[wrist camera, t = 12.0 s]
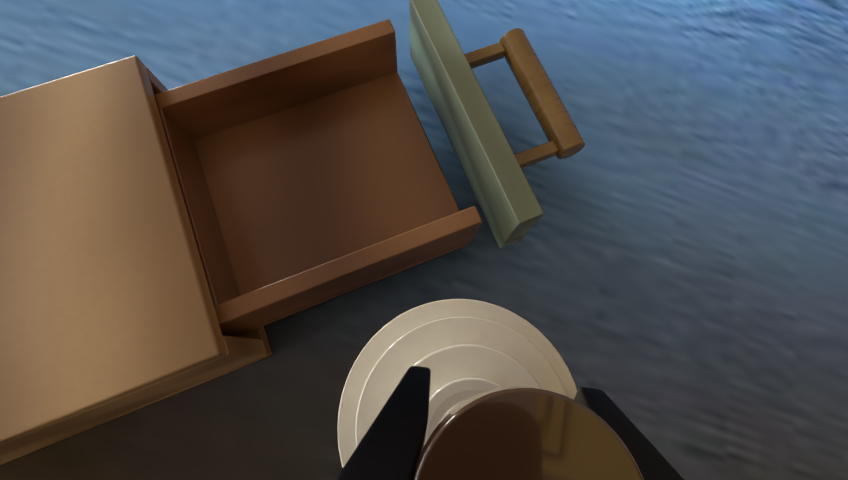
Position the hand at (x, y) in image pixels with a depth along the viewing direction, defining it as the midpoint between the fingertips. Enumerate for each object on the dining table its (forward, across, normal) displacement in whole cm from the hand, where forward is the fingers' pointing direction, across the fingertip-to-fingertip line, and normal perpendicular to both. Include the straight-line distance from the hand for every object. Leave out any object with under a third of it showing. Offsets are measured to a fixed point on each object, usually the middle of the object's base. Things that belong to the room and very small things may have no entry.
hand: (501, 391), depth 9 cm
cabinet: (+11, +19, +8) cm, 23 cm away
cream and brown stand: (+4, 0, +6) cm, 7 cm away
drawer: (+16, +5, +2) cm, 17 cm away
